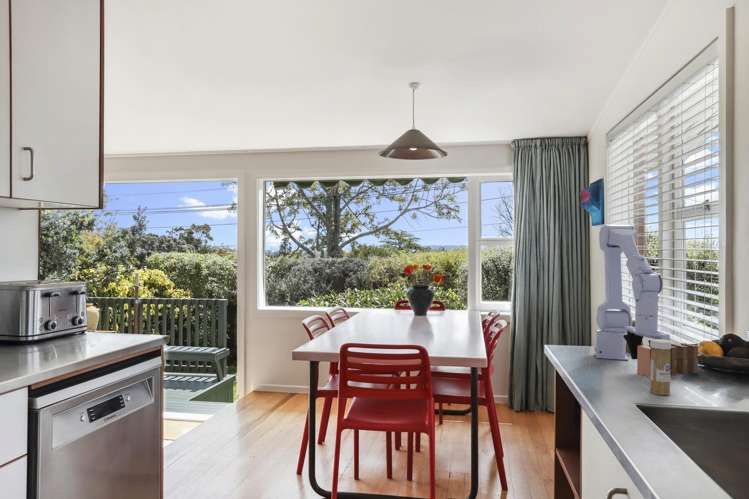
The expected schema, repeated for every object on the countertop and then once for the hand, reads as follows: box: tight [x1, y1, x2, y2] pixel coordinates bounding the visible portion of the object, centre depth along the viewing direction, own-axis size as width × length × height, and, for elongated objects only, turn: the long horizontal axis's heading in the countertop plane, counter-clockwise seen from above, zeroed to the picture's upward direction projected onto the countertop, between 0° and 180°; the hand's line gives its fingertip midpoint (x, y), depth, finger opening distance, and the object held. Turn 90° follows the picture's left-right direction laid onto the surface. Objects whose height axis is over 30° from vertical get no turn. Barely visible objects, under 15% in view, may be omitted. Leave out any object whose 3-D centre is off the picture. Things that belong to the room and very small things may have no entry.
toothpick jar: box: [649, 338, 672, 396], centre depth 127 cm, size 5×5×14 cm
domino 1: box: [636, 345, 651, 378], centre depth 145 cm, size 2×4×8 cm, turn 16°
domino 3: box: [671, 343, 688, 375], centre depth 149 cm, size 2×4×8 cm, turn 16°
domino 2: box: [670, 346, 677, 376], centre depth 147 cm, size 2×4×8 cm, turn 16°
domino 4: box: [680, 342, 699, 374], centre depth 150 cm, size 2×4×8 cm, turn 16°
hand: (645, 362), depth 145 cm, fingers open, 7 cm apart
